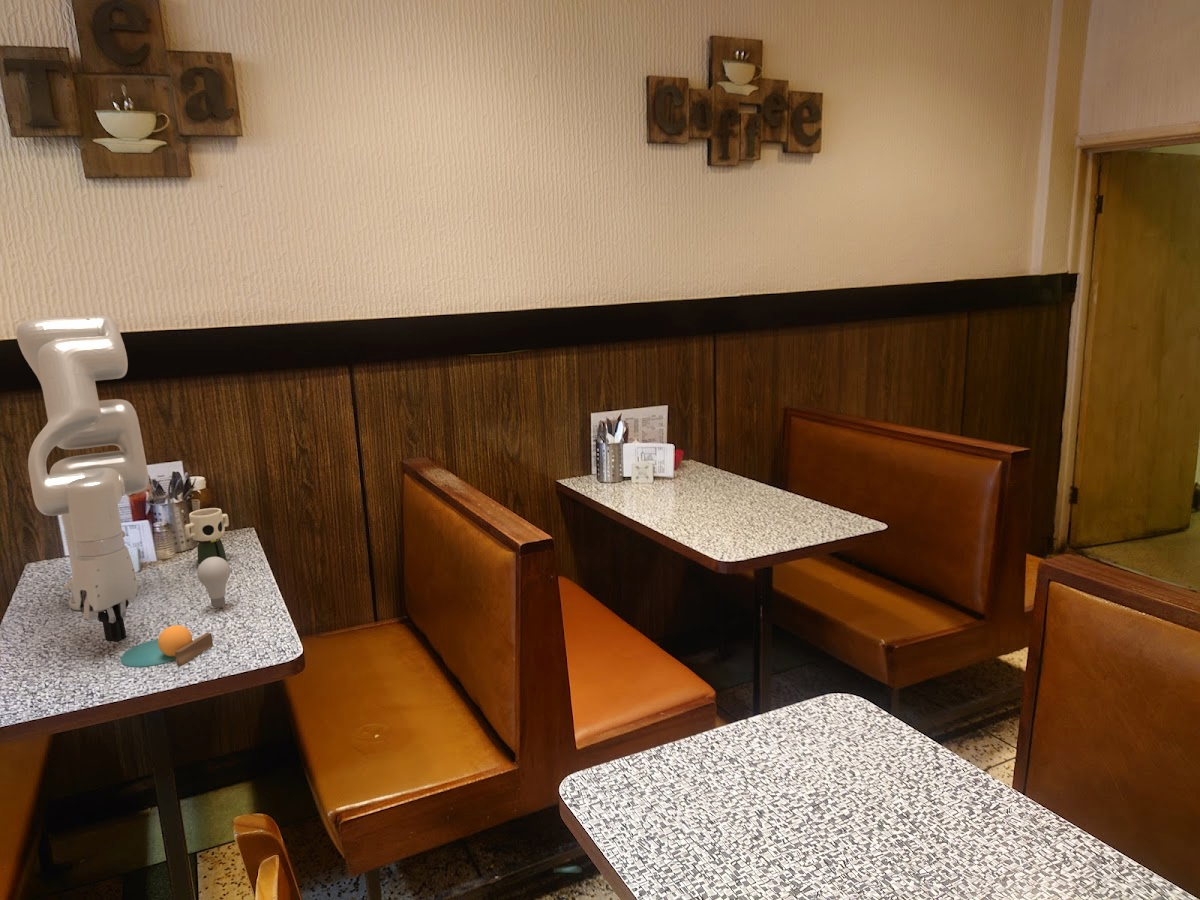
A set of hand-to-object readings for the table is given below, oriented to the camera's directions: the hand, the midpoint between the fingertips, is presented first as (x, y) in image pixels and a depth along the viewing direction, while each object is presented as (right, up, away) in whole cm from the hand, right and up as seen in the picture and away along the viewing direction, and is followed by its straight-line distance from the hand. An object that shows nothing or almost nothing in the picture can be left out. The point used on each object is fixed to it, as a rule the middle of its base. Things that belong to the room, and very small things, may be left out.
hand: (116, 639), depth 153 cm
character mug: (-3, +8, +46) cm, 46 cm away
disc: (+9, -2, -2) cm, 9 cm away
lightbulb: (+11, +2, +18) cm, 21 cm away
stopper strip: (+17, -2, -4) cm, 17 cm away
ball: (+13, +1, -4) cm, 14 cm away
